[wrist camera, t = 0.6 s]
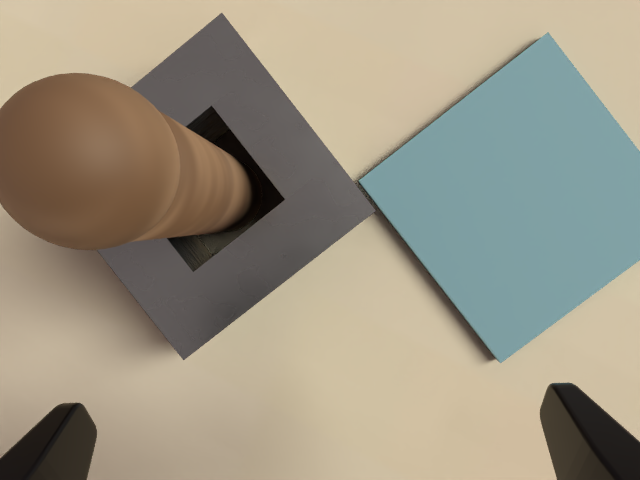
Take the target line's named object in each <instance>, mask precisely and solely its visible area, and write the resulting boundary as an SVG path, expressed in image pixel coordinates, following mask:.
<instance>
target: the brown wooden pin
mask: <svg viewBox="0 0 640 480" xmlns="http://www.w3.org/2000/svg"><path fill="white" fill-rule="evenodd" d="M261 202H262V188H261V184H260V181H259V179H258V177H257V175H256V174H255V172H254V171H253V170H252V169H251V168H250V167H249V166H248V165H246V164H245V163H243V162H242V161H240V160H238V159H237V158H235V157H233V156H232V155H230V154H229V153H227V152H225V151H224V150H222V149H220V148H219V147H217V146H216V145H214V144H212V143H211V142H209V141H207V140H206V139H204V138H203V137H201V136H199V135H198V134H196V133H195V132H193V131H191V130H190V129H188V128H186V127H185V126H183V125H182V124H180V123H178V122H177V121H175V120H173V119H172V118H170V117H169V116H167V115H165V114H164V113H162V112H160V111H159V110H157V109H156V108H155V106H154V105H153V104H151V103H150V102H149V101H148V100H147V99H146V98H144V97H143V96H142V95H141V94H139V93H138V92H136V91H135V90H133V89H132V88H130V87H128V86H126V85H124V84H122V83H120V82H118V81H115V80H112V79H109V78H106V77H102V76H97V75H92V74H84V73H69V74H58V75H54V76H49V77H46V78H43V79H41V80H38V81H35V82H33V83H31V84H29V85H27V86H25V87H23V88H22V89H21V90H19V91H18V92H17V93H15V94H14V95H13V96H12V97H11V98H10V99H9V100H8V101H7V102H6V103H5V104H4V105H3V106H2V108H1V109H0V203H1V205H2V206H3V208H4V209H5V210H6V211H7V212H8V214H9V215H10V216H11V217H12V218H13V219H14V220H15V221H16V222H17V223H19V224H20V225H21V226H22V227H23V228H25V229H26V230H28V231H29V232H31V233H32V234H34V235H36V236H38V237H39V238H42V239H44V240H46V241H48V242H50V243H53V244H56V245H59V246H63V247H68V248H73V249H81V250H99V249H107V248H112V247H116V246H120V245H123V244H126V243H129V242H133V241H143V240H152V239H162V238H171V237H181V236H190V235H199V234H209V233H218V232H228V231H234V230H238V229H241V228H242V227H244V226H246V225H247V224H249V223H250V222H251V221H252V220H253V219H254V218H255V216H256V215H257V213H258V211H259V209H260V206H261Z"/></svg>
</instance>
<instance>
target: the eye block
mask: <svg viewBox="0 0 640 480" xmlns="http://www.w3.org/2000/svg"><path fill="white" fill-rule="evenodd" d="M131 88H132V89H133V90H135V91H136V92H138V93H139V94H141V95H142V96H143V97H144V98H146V99H147V100H148V101H149V102H150V103H151V104H153V105H154V106H155V108H156V109H157V110H159V111H160V112H162V113H164V114H165V115H167V116H169V117H170V118H172V119H173V120H175V121H177V122H178V123H180V124H182V125H183V126H185V127H186V128H188V129H190V130H191V131H193V132H195V133H196V134H198V135H199V136H201V137H203V138H204V139H206V140H207V141H209V142H211V143H213V142H214V141H215V140H216V139H218V138H219V137H220V136H221V135H223V134H224V133H225V132H226V131H228V130H229V129H230V130H231V131H232V132H233V133H234V135H235V136H236V137H237V139H238V140H239V141H240V142H241V144H242V145H243V146H244V148H245V149H246V150H247V151H248V153H249V154H250V155H251V156H252V158H253V159H254V160H255V162H256V163H257V164H258V165H259V167H260V168H261V169H262V171H263V172H264V173H265V174H266V176H267V177H268V178H269V180H270V181H271V182H272V183H273V185H274V186H275V187H276V188H277V190H278V191H279V192H280V194H281V195H282V196H283V197H284V199H285V200H284V201H283V202H282V203H280V204H279V205H278V206H277V207H275V208H274V209H273V210H271V211H270V212H269V213H268V214H266V215H265V216H264V217H263V218H261V219H260V220H259V221H258V222H256V223H255V224H254V225H252V226H251V227H250V228H249V229H247V230H246V231H245V232H244V233H242V234H241V235H240V236H239V237H237V238H236V239H235V240H233V241H232V242H231V243H230V244H228V245H227V246H226V247H225V248H223V249H222V250H221V251H220V252H218V253H217V254H216V255H214V256H212V255H211V253H210V252H209V251H208V250H207V248H206V247H205V246H204V245H203V243H202V242H201V241H200V239H199V238H198V237H197V236H196V235H190V236H181V237H171V238H162V239H152V240H143V241H133V242H129V243H126V244H123V245H120V246H116V247H112V248H107V249H99V250H97V251H98V252H99V254H100V255H101V256H102V257H103V259H104V260H105V261H106V262H107V264H108V265H109V266H110V268H111V269H112V270H113V271H114V273H115V274H116V275H117V276H118V278H119V279H120V280H121V282H122V283H123V284H124V285H125V287H126V288H127V289H128V290H129V292H130V293H131V294H132V295H133V297H134V298H135V299H136V301H137V302H138V303H139V304H140V306H141V307H142V308H143V309H144V311H145V312H146V313H147V314H148V316H149V317H150V318H151V320H152V321H153V322H154V323H155V325H156V326H157V327H158V328H159V330H160V331H161V332H162V334H163V335H164V336H165V337H166V339H167V340H168V341H169V342H170V344H171V345H172V346H173V347H174V349H175V350H176V351H177V353H178V354H179V355H180V356H181V358H182V359H183V360H185V359H186V358H187V357H188V356H190V355H191V354H192V353H194V352H195V351H196V350H197V349H199V348H200V347H201V346H203V345H204V344H205V343H206V342H208V341H209V340H210V339H212V338H213V337H214V336H215V335H217V334H218V333H219V332H221V331H222V330H223V329H224V328H226V327H227V326H228V325H230V324H231V323H232V322H233V321H235V320H236V319H237V318H239V317H240V316H241V315H242V314H244V313H245V312H246V311H248V310H249V309H250V308H251V307H253V306H254V305H255V304H257V303H258V302H259V301H260V300H262V299H263V298H264V297H266V296H267V295H268V294H269V293H271V292H272V291H273V290H275V289H276V288H277V287H278V286H280V285H281V284H282V283H284V282H285V281H286V280H287V279H289V278H290V277H291V276H293V275H294V274H295V273H296V272H298V271H299V270H300V269H302V268H303V267H304V266H305V265H307V264H308V263H309V262H311V261H312V260H313V259H314V258H316V257H317V256H318V255H320V254H321V253H322V252H323V251H325V250H326V249H327V248H329V247H330V246H331V245H332V244H334V243H335V242H336V241H338V240H339V239H340V238H341V237H343V236H344V235H345V234H347V233H348V232H349V231H350V230H352V229H353V228H354V227H356V226H357V225H358V224H359V223H361V222H362V221H363V220H365V219H366V218H367V217H368V216H370V215H371V214H372V213H374V212H375V211H376V210H375V209H374V208H373V206H372V205H371V204H370V202H369V201H368V200H367V199H366V197H365V196H364V195H363V193H362V192H361V191H360V190H359V188H358V187H357V186H356V184H355V183H354V182H353V181H352V179H351V178H350V177H349V175H348V174H347V173H346V172H345V170H344V169H343V168H342V166H341V165H340V164H339V163H338V161H337V160H336V159H335V157H334V156H333V155H332V154H331V152H330V151H329V150H328V148H327V147H326V146H325V145H324V143H323V142H322V141H321V139H320V138H319V137H318V136H317V134H316V133H315V132H314V130H313V129H312V128H311V127H310V125H309V124H308V123H307V121H306V120H305V119H304V118H303V116H302V115H301V114H300V112H299V111H298V110H297V109H296V107H295V106H294V105H293V103H292V102H291V101H290V100H289V98H288V97H287V96H286V94H285V93H284V92H283V91H282V89H281V88H280V87H279V85H278V84H277V83H276V82H275V80H274V79H273V78H272V76H271V75H270V74H269V73H268V71H267V70H266V69H265V67H264V66H263V65H262V64H261V62H260V61H259V60H258V58H257V57H256V56H255V55H254V53H253V52H252V51H251V49H250V48H249V47H248V46H247V44H246V43H245V42H244V40H243V39H242V38H241V37H240V35H239V34H238V33H237V31H236V30H235V29H234V28H233V26H232V25H231V24H230V23H229V21H228V20H227V19H226V17H225V16H224V15H223V14H222V13H221V14H220V15H219V16H217V17H216V18H215V19H214V20H212V21H211V22H210V23H209V24H208V25H206V26H205V27H204V28H203V29H202V30H200V31H199V32H198V33H197V34H196V35H194V36H193V37H192V38H191V39H189V40H188V41H187V42H186V43H185V44H183V45H182V46H181V47H180V48H179V49H177V50H176V51H175V52H174V53H172V54H171V55H170V56H169V57H168V58H166V59H165V60H164V61H163V62H162V63H160V64H159V65H158V66H157V67H156V68H154V69H153V70H152V71H151V72H149V73H148V74H147V75H146V76H145V77H143V78H142V79H141V80H140V81H139V82H137V83H136V84H135V85H134V86H132V87H131Z"/></svg>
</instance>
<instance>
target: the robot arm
mask: <svg viewBox="0 0 640 480" xmlns="http://www.w3.org/2000/svg"><path fill="white" fill-rule="evenodd" d="M540 420H541V424H542V427H543V431H544V435H545V438H546V442H547V445H548V449H549V452H550V456H551V459H552V463H553V467H554V470H555V474H556V477H557V480H640V442H639V441H638V440H637V439H636V438H635V437H634V436H633V435H632V434H630V433H629V432H628V431H627V430H626V429H625V428H624V427H622V426H621V425H620V424H619V423H618V422H617V421H616V420H615V419H613V418H612V417H611V416H610V415H609V414H608V413H607V412H606V411H604V410H603V409H602V408H601V407H600V406H599V405H598V404H596V403H595V402H594V401H593V400H592V399H591V398H590V397H589V396H587V395H586V394H585V393H584V392H583V391H582V390H581V389H579V388H578V387H577V386H576V385H574V384H572V383H552V384H550V385H549V386H548V388H547V390H546V393H545V396H544V399H543V402H542V405H541V408H540ZM96 438H97V429H96V426H95V424H94V422H93V420H92V419H91V417H90V415H89V413H88V412H87V410H86V408H85V407H84V405H83V404H81V403H63V404H60V405H58V406H56V407H55V408H54V409H53V410H52V411H50V412H49V413H48V414H47V415H46V416H45V417H44V418H43V419H42V420H41V421H40V422H39V423H38V424H37V425H35V426H34V427H33V428H32V429H31V430H30V431H29V432H28V433H27V434H26V435H25V436H24V437H23V438H22V439H20V440H19V441H18V442H17V443H16V444H15V445H14V446H13V447H12V448H11V449H10V450H9V451H8V452H6V453H5V454H4V455H3V456H2V457H1V458H0V480H87V476H88V472H89V468H90V464H91V459H92V455H93V451H94V447H95V442H96Z"/></svg>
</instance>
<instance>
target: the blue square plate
mask: <svg viewBox="0 0 640 480" xmlns="http://www.w3.org/2000/svg"><path fill="white" fill-rule="evenodd" d="M358 182H359V183H360V185H361V186H362V187H363V188H364V190H365V191H366V192H367V194H368V195H369V196H370V197H371V199H372V200H373V201H374V203H375V204H376V205H377V206H378V208H379V209H380V210H381V212H382V213H383V214H384V215H385V217H386V218H387V219H388V221H389V222H390V223H391V224H392V226H393V227H394V228H395V230H396V231H397V232H398V233H399V235H400V236H401V237H402V239H403V240H404V241H405V242H406V244H407V245H408V246H409V248H410V249H411V250H412V251H413V253H414V254H415V255H416V257H417V258H418V259H419V260H420V262H421V263H422V264H423V266H424V267H425V268H426V269H427V271H428V272H429V273H430V275H431V276H432V277H433V278H434V280H435V281H436V282H437V284H438V285H439V286H440V287H441V289H442V290H443V291H444V293H445V294H446V295H447V296H448V298H449V299H450V300H451V302H452V303H453V304H454V305H455V307H456V308H457V309H458V311H459V312H460V313H461V314H462V316H463V317H464V318H465V320H466V321H467V322H468V323H469V325H470V326H471V327H472V329H473V330H474V331H475V332H476V334H477V335H478V336H479V338H480V339H481V340H482V341H483V343H484V344H485V345H486V347H487V348H488V349H489V350H490V352H491V353H492V354H493V356H494V357H495V358H496V359H497V360H498V361H499V362H500V363H502V362H503V361H504V360H506V359H507V358H508V357H510V356H511V355H512V354H514V353H515V352H516V351H518V350H519V349H520V348H522V347H523V346H524V345H526V344H527V343H528V342H530V341H531V340H533V339H534V338H535V337H537V336H538V335H539V334H541V333H542V332H543V331H545V330H546V329H547V328H549V327H550V326H551V325H553V324H554V323H555V322H557V321H558V320H559V319H561V318H562V317H564V316H565V315H566V314H568V313H569V312H570V311H572V310H573V309H574V308H576V307H577V306H578V305H580V304H581V303H582V302H584V301H585V300H586V299H588V298H589V297H591V296H592V295H593V294H595V293H596V292H597V291H599V290H600V289H601V288H603V287H604V286H605V285H607V284H608V283H609V282H611V281H612V280H613V279H615V278H616V277H617V276H619V275H620V274H622V273H623V272H624V271H626V270H627V269H628V268H630V267H631V266H632V265H634V264H635V263H636V262H638V261H639V260H640V151H639V150H638V149H637V147H636V146H635V145H634V144H633V142H632V141H631V140H630V138H629V137H628V136H627V134H626V133H625V132H624V131H623V129H622V128H621V127H620V125H619V124H618V123H617V121H616V120H615V119H614V118H613V116H612V115H611V114H610V112H609V111H608V110H607V108H606V107H605V106H604V104H603V103H602V102H601V101H600V99H599V98H598V97H597V95H596V94H595V93H594V91H593V90H592V89H591V88H590V86H589V85H588V84H587V82H586V81H585V80H584V78H583V77H582V76H581V75H580V73H579V72H578V71H577V69H576V68H575V67H574V65H573V64H572V63H571V62H570V60H569V59H568V58H567V56H566V55H565V54H564V52H563V51H562V50H561V48H560V47H559V46H558V45H557V43H556V42H555V41H554V39H553V38H552V37H551V35H550V34H549V33H546V34H545V35H544V36H543V37H541V38H540V39H539V40H537V41H536V42H535V43H534V44H532V45H531V46H530V47H529V48H527V49H526V50H525V51H523V52H522V53H521V54H520V55H518V56H517V57H516V58H515V59H513V60H512V61H511V62H509V63H508V64H507V65H506V66H504V67H503V68H502V69H500V70H499V71H498V72H497V73H495V74H494V75H493V76H492V77H490V78H489V79H488V80H486V81H485V82H484V83H483V84H481V85H480V86H479V87H478V88H476V89H475V90H474V91H472V92H471V93H470V94H469V95H467V96H466V97H465V98H463V99H462V100H461V101H460V102H458V103H457V104H456V105H455V106H453V107H452V108H451V109H449V110H448V111H447V112H446V113H444V114H443V115H442V116H441V117H439V118H438V119H437V120H435V121H434V122H433V123H432V124H430V125H429V126H428V127H427V128H425V129H424V130H423V131H421V132H420V133H419V134H418V135H416V136H415V137H414V138H412V139H411V140H410V141H409V142H407V143H406V144H405V145H404V146H402V147H401V148H400V149H398V150H397V151H396V152H395V153H393V154H392V155H391V156H390V157H388V158H387V159H386V160H384V161H383V162H382V163H381V164H379V165H378V166H377V167H375V168H374V169H373V170H372V171H370V172H369V173H368V174H367V175H365V176H364V177H363V178H361V179H360V180H359V181H358Z"/></svg>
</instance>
